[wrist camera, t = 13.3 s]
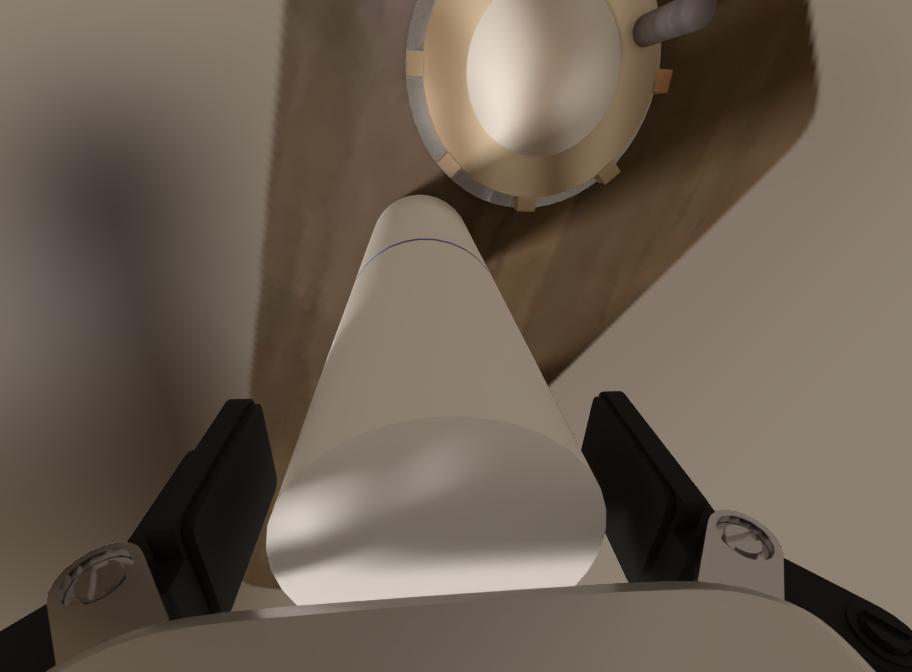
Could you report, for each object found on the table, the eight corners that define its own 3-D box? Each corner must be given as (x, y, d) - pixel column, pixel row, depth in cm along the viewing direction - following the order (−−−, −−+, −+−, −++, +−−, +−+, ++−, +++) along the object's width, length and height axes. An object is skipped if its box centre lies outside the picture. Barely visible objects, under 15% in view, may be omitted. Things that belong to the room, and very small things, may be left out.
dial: (461, 233, 30) (473, 260, 24) (370, -25, 23) (356, -76, 17) (667, 154, 28) (732, 163, 23) (638, -143, 21) (721, -240, 16)
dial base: (621, 208, 31) (627, 210, 30) (407, 202, 29) (407, 204, 29) (683, -79, 24) (694, -86, 23) (403, -107, 22) (403, -117, 21)
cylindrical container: (455, 182, 29) (591, 372, 7) (477, 276, 32) (616, 603, 10) (358, 209, 29) (194, 474, 7) (390, 299, 33) (342, 669, 11)
